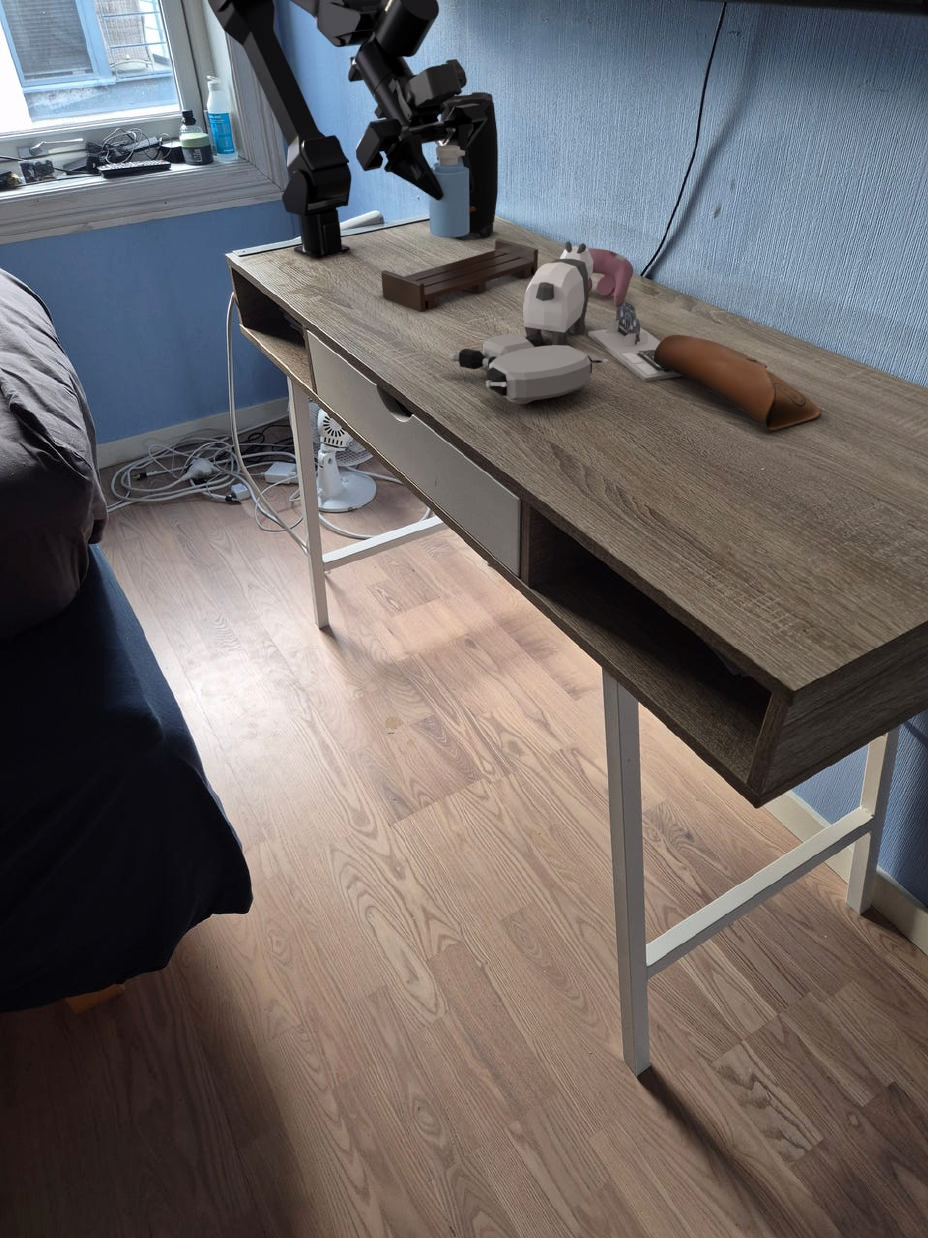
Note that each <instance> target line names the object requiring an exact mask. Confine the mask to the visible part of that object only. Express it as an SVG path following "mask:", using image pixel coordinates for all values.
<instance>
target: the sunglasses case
mask: <svg viewBox="0 0 928 1238" xmlns="http://www.w3.org/2000/svg"><path fill="white" fill-rule="evenodd" d="M654 361H655V363H656V364H658V365H660V366H663V367H665V368H667V369H669V370H672V371H674V372H675V373H680V374H681V375H682V376H681V377H684V378H687V379H690V380H692V381H693V382H694V383H696V384H698V385H700V386H701V387H703V389H705V390H707V391H709V392H711V393H713V394H715V395H717V396H718V397H720V398H721V399H722V400H724V401H726V402H727V403H729V404H730V405H732V406H734V407H736V408H737V409H739V410H741V411H742V412H744V413H746V414H747V415H749V416H750V417H752V418H754V419H755V420H756V421H758V422H760V423H761V424H764V425H765V426H766V428H767V429H768V431H770V432H775V431H780V430H781V431H782V430H785V429H786V430H787V429H790V428H793V427H797V426H800V425H802V424H805V423H807V422H810V421H813V420H815V419H818V418H819V417H820V416H821V415H822V411H821V410H820V409H819V407H818V406H817V404H816V403H814V401H812V400H811V399H810V398H809V397H807V395H805V394H804V393H802V392H801V391H799V390H798V389H797V388H795V387H794V386H793V385H792V384H789V383H788V382H787V381H785V380H783V379H781V378H780V377H778V376H777V375H775V374H774V373H772V372H771V371H768V365H767V364H765V363H762V362H760V361H758V360H757V359H756V358H755V357H752V356H750V355H748V354H746V353H743V352H742V351H741V352H740V351H738V350H735V349H733V348H731V347H728V346H726V345H724V344H721V343H720V342H716V341H713V340H709V339H706V338H701V337H697V336H692V335H686V334H685V335H683V334H671V335H668V336H666V337H664V338H663V339H662V340H660V344H659V345H658V346H657V348H656V351H655V353H654Z"/></svg>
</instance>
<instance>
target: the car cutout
mask: <svg viewBox="0 0 928 1238" xmlns="http://www.w3.org/2000/svg"><path fill="white" fill-rule="evenodd" d="M622 303H623V304H622V305H619V306H617V308H616V315H615V319H614V320H611V321H609V322H608V323H607V324H606V328H605V329H604V328H603V329H595V330H589V331H587V335H588V336H589V337H590V338H591V339H592V340H594V341H595V342H596V343H597V344H598V345H600V346H601V347H602V348H603V349H604V350H605V351H607V353H609V354H610V355H612V356H613V357H614V358H615V359H616V360H618V361H619V362H620V363H621V364H622V365H624V366H625V367H626V368H627V369H629V371H631V372H632V373H633V374H635V376H637V377H638V378H640V380H642V381H643V382H644V383H646V382H652V381H658V380H665V379H670V378H671V379H672V378H678V377H683V376H682V375H681V374H680V373H675V372H674V371H672V370H669V369H667V368H665V367H663V366H660V365H658V364H656V363H655V361H654V353H655V351H656V348H657V346H658V345H659V344H660V342H661V340H659V338H656V337H655V336H654V335H652V334H651V333H649V332H648V331H647V330H646V329H644V328H643V327H642V326H641V322H640V320H639V318H638V317H637V310H636V307H635V306H634V305H633V304H632V303H630V302H629V301H627V300H626V301H625V300H624V301H623V302H622Z"/></svg>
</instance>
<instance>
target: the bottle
mask: <svg viewBox="0 0 928 1238" xmlns="http://www.w3.org/2000/svg"><path fill="white" fill-rule="evenodd" d="M463 155H465V151H463V150H460V147H459V146H454V145H443V146H438V145H437V146H436V147H435V157H436V158H437V157H438V158H439V161H437V162H435V163H433V165H432V167H430V168H431V170H432V171H433V173H434V175H435V177H436V179H437V181H438V183H439V185H440V187H441V189H442V192H443V194H444V196H443V198H442V199H441V200H439V201H437V200H436V199H434V198H433V197H431V196H430V195H428V208H429V211H428V212H429V213H428V215H429V233H430V234H431V236H434V237H438V238H454V237H460V236H461V237H464V236H466V235H469V234H468V233H469V169H468V168H466V167H463V163H461V162H458V157H460V156H463Z"/></svg>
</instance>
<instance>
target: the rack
mask: <svg viewBox="0 0 928 1238" xmlns="http://www.w3.org/2000/svg"><path fill="white" fill-rule="evenodd" d="M538 264H539V248H535V247H532V246H529V245H525V244H521V243H517V242H514V241H510V240H506V239H503V238H495V240H494V250H491V251H487V252H484V253H483V252H482V253H480V254H476V255H474V256H470V257H466V258H463V259H460V260H455V261H453V262H449V263H445V264H443V265H439V266H436V267H433V268H428V269H425V270H422V271H418V272H414V273H411V274H408V275H401V274H398V273H395V272H392V271H389V270H386V269H385V270H381V271H380V274H381V275H380V276H381V286H382V287H381V288H382V299H385V300H389V301H391V302H394V303H396V304H398V305H402V306H405V307H408V308H410V309H412V310H415V311H417V312H425V311H426V309H427V310H431V309H434V308H437V298H439V297H443V296H446V295H450V294H453V293H455V292H459V291H462V290H467V291H470V292H473V293H476V294H481V293H484V292H486V289H487V285H486V283H487V282H490V281H493V280H497V279H500V278H503V277H507V276H510V275H512V276H515V277H518V278H522V279H527V278H530V277H532V276H534V275H535V273H536V271H537V270H538V269H539V268H538V266H539V265H538Z"/></svg>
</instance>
